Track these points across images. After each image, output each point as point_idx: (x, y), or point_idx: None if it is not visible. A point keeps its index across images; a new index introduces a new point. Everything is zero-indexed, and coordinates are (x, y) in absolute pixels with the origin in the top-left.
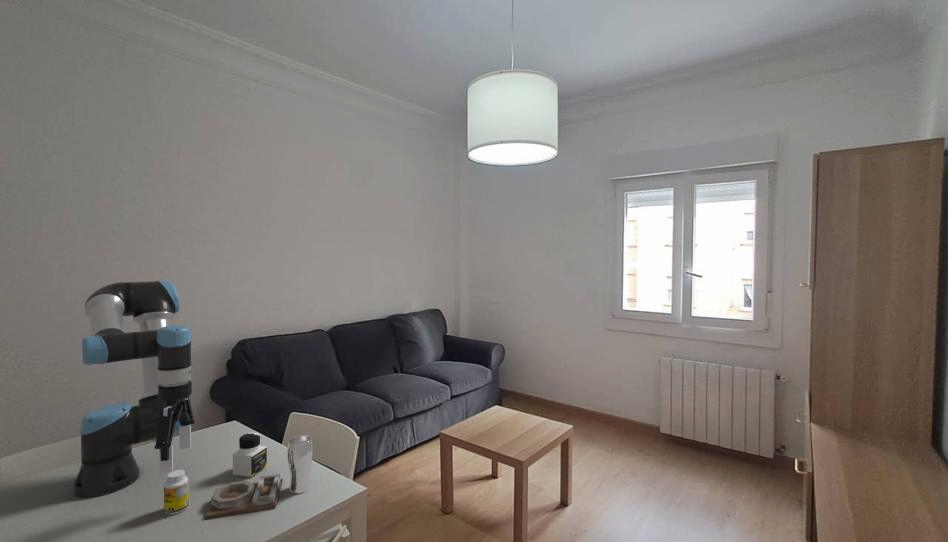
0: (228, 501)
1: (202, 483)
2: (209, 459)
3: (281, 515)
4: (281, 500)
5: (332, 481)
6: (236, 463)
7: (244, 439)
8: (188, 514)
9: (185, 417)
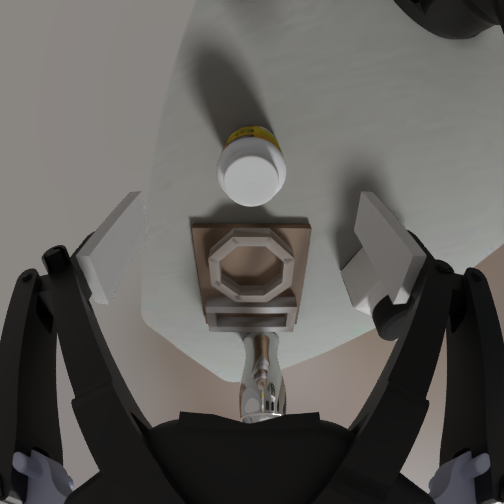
0: (210, 270)
1: (364, 177)
2: (466, 174)
3: (185, 325)
4: None
5: None
6: None
7: (389, 321)
8: None
9: (389, 358)
